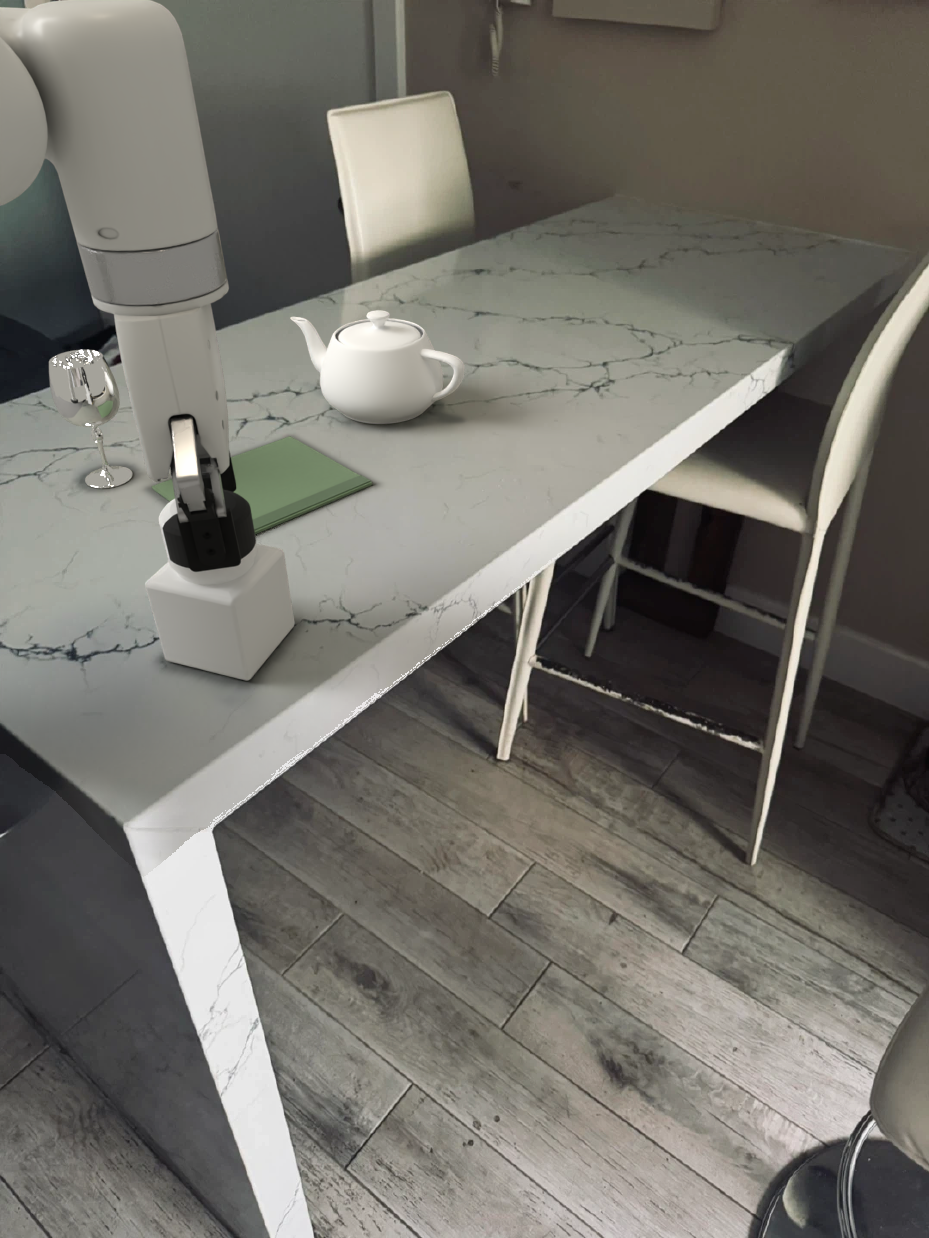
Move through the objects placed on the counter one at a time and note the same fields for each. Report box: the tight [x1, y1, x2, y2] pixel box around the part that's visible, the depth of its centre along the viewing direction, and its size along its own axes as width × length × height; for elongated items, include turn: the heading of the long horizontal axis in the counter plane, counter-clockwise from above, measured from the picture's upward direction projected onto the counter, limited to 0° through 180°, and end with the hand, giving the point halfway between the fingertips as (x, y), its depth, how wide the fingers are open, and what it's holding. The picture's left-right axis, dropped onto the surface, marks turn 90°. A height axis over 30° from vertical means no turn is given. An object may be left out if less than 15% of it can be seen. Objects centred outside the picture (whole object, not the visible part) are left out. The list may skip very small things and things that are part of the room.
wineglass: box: [48, 349, 134, 489], centre depth 82 cm, size 6×6×12 cm
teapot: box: [289, 309, 466, 425], centre depth 96 cm, size 22×14×11 cm, turn 63°
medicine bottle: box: [144, 489, 296, 681], centre depth 62 cm, size 7×7×12 cm
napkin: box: [151, 435, 373, 535], centre depth 84 cm, size 16×14×1 cm
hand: (215, 527), depth 60 cm, fingers open, 9 cm apart
